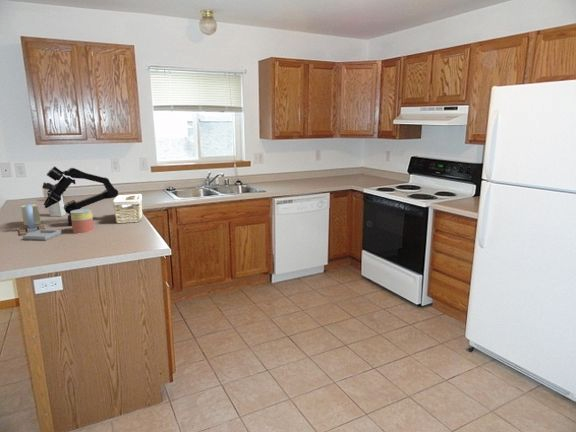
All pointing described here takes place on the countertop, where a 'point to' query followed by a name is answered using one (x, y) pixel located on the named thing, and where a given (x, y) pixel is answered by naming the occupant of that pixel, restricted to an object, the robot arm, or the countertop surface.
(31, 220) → the tall blue pillar
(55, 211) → the skincare box
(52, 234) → the tray
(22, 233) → the slot
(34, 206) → the can
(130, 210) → the storage basket
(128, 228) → the countertop surface
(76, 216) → the canned food
